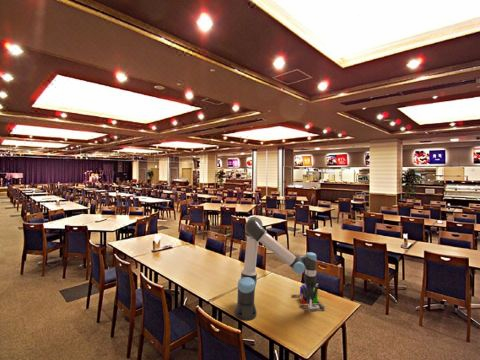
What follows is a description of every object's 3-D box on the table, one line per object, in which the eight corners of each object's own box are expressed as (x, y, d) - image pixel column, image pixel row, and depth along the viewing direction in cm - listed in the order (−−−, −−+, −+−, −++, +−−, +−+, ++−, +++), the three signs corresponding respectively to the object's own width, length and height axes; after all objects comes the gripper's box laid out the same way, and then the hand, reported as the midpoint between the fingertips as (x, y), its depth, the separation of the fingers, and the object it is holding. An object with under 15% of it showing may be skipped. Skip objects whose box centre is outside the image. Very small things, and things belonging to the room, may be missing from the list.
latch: (311, 310, 182) (311, 306, 182) (310, 309, 184) (310, 304, 184) (319, 310, 183) (319, 305, 183) (317, 308, 185) (317, 304, 185)
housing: (303, 313, 179) (304, 308, 179) (291, 297, 203) (291, 293, 203) (326, 312, 182) (326, 307, 182) (311, 296, 205) (311, 292, 205)
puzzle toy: (299, 299, 201) (300, 286, 201) (312, 298, 202) (312, 286, 202) (304, 305, 191) (304, 291, 191) (317, 305, 192) (317, 291, 192)
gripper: (304, 277, 178) (303, 311, 178) (321, 276, 180) (320, 310, 180) (299, 273, 185) (299, 305, 185) (316, 272, 188) (315, 304, 188)
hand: (309, 307), depth 183 cm, fingers closed
